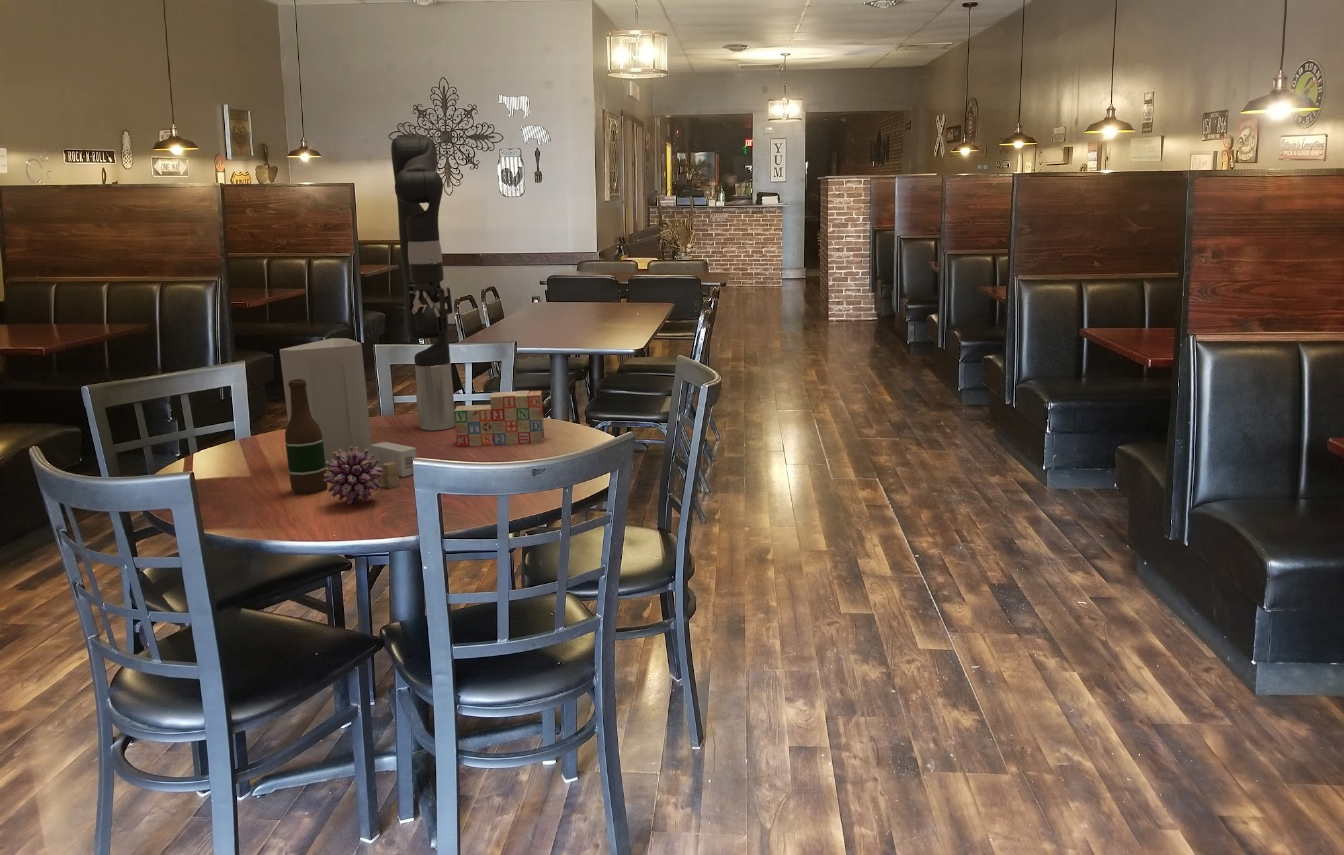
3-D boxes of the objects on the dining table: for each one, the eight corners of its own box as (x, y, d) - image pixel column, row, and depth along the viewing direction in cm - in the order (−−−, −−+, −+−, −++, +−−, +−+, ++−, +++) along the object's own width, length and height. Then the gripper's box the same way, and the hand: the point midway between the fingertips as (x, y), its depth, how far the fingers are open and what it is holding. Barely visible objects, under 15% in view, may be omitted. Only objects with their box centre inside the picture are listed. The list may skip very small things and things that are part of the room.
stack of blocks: (456, 447, 270) (452, 398, 268) (460, 442, 277) (456, 393, 274) (543, 443, 271) (540, 394, 269) (545, 437, 277) (541, 389, 275)
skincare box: (417, 447, 245) (385, 440, 253) (401, 451, 242) (369, 444, 250) (419, 474, 246) (387, 466, 254) (403, 478, 243) (371, 470, 251)
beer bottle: (295, 486, 239) (282, 378, 234) (332, 484, 240) (320, 376, 235) (286, 496, 232) (273, 384, 227) (324, 494, 232) (311, 382, 227)
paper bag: (344, 473, 249) (331, 351, 243) (292, 469, 255) (277, 350, 249) (394, 453, 267) (383, 338, 261) (344, 450, 272) (332, 338, 266)
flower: (347, 515, 216) (341, 456, 213) (315, 505, 224) (308, 448, 221) (397, 501, 224) (391, 444, 222) (364, 492, 232) (358, 437, 229)
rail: (334, 474, 249) (332, 452, 248) (343, 471, 250) (341, 450, 249) (390, 488, 234) (388, 465, 233) (399, 485, 236) (397, 463, 235)
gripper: (393, 261, 254) (400, 330, 258) (430, 263, 244) (436, 336, 248) (421, 258, 259) (427, 326, 263) (457, 260, 249) (463, 331, 253)
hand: (431, 331), depth 255 cm, fingers open, 8 cm apart
